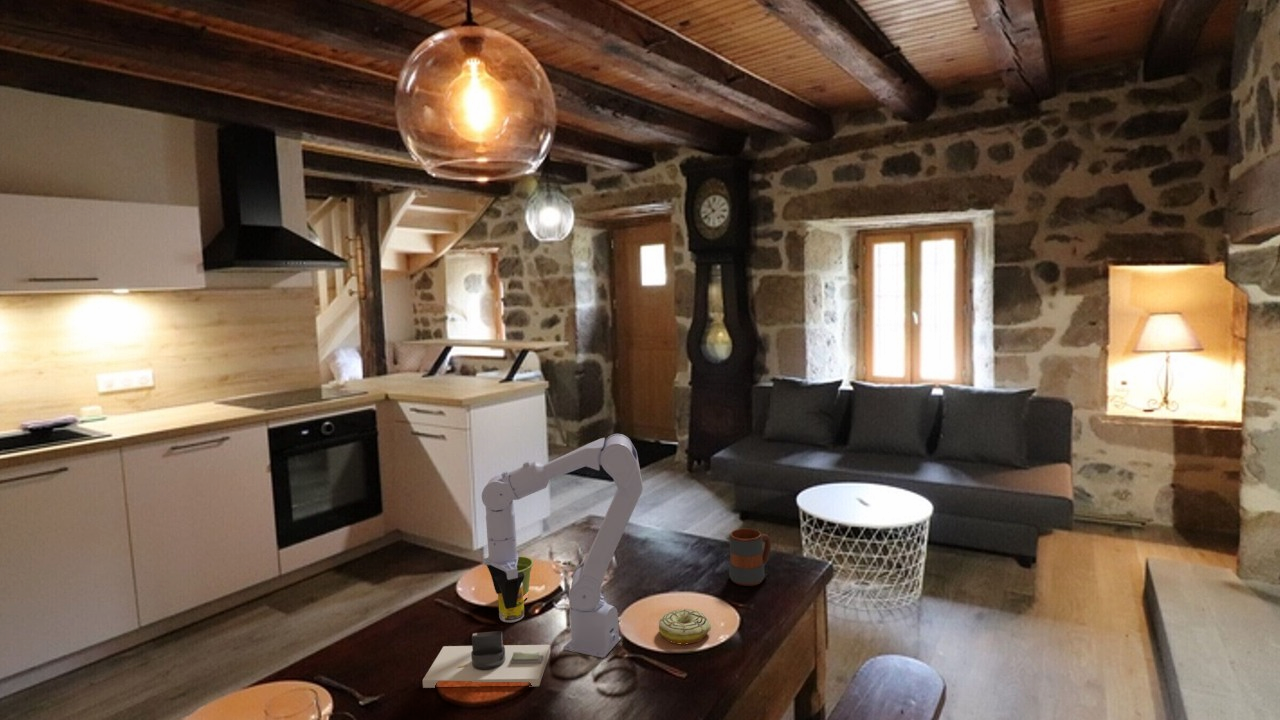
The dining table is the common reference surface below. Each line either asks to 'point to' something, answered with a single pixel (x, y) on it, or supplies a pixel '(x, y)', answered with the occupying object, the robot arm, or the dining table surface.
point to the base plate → (517, 667)
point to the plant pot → (525, 571)
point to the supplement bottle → (515, 612)
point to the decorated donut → (684, 626)
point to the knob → (487, 650)
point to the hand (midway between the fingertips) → (505, 599)
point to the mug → (748, 556)
